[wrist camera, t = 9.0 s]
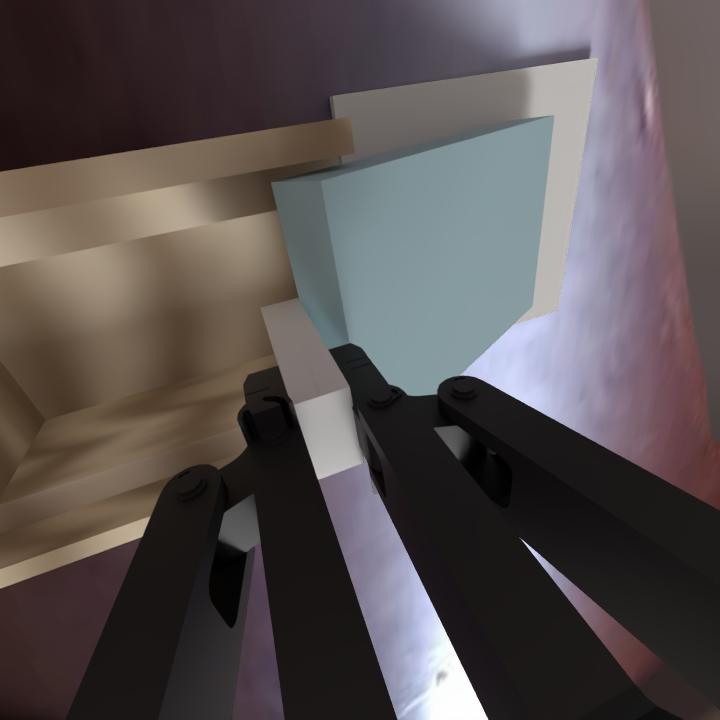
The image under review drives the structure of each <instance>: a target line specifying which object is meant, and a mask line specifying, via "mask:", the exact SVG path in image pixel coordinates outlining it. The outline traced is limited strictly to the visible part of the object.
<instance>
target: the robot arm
mask: <svg viewBox="0 0 720 720" xmlns="http://www.w3.org/2000/svg"><path fill="white" fill-rule="evenodd" d="M261 312H262V315H263V318H264V322H265V325H266V328H267V331H268V335H269V338H270V341H271V344H272V348H273V351H274V354H275V357H276V361H277V364H278V366H275V367H272V368H268V369H265V370H262V371H258V372H255V373H252V374H248V376H247V378H246V380H245V382H244V384H243V389H244V395H245V402H246V404H245V405H243V407H242V408H241V409H240V411H239V412H238V416H237V421H238V424H239V426H240V428H241V431H242V433H243V436H244V438H245V441H246V443H247V447H246V449H245V450H244V452H243V453H241V454H240V455H239V456H238V457H237V458H236V459H235V460H233V461H232V462H230V463H229V464H227V465H225V466H224V467H222V468H220V469H219V470H218V469H217V467H214V466H212V465H209V464H198V465H195V466H192V467H189V468H186V469H185V470H183V471H181V472H179V473H178V474H176V475H175V476H174V477H173V478H172V479H171V480H170V481H168V482H167V483H166V485H165V487H164V488H163V490H162V491H161V493H160V495H159V498H158V500H157V503H156V505H155V507H154V510H153V512H152V514H151V517H150V519H149V522H148V524H147V526H146V529H145V531H144V534H143V536H142V538H141V541H140V543H139V546H138V548H137V550H136V553H135V555H134V557H133V560H132V562H131V565H130V567H129V569H128V572H127V574H126V577H125V579H124V581H123V584H122V586H121V588H120V591H119V593H118V596H117V598H116V600H115V603H114V605H113V608H112V610H111V612H110V615H109V617H108V620H107V622H106V624H105V627H104V629H103V631H102V634H101V636H100V639H99V641H98V643H97V646H96V648H95V651H94V653H93V655H92V658H91V660H90V662H89V665H88V667H87V670H86V672H85V674H84V677H83V679H82V682H81V684H80V686H79V689H78V691H77V694H76V696H75V698H74V701H73V703H72V705H71V708H70V710H69V713H68V715H67V717H66V720H232V712H233V705H234V698H235V691H236V684H237V677H238V670H239V663H240V655H241V648H242V641H243V634H244V627H245V620H246V613H247V605H248V598H249V591H250V584H251V577H252V570H253V563H254V556H255V545H256V544H258V543H259V542H260V541H261V548H262V556H263V563H264V570H265V578H266V585H267V592H268V600H269V607H270V614H271V622H272V629H273V636H274V644H275V651H276V658H277V666H278V673H279V680H280V688H281V695H282V702H283V710H284V717H285V720H397V717H396V714H395V711H394V708H393V705H392V702H391V699H390V696H389V693H388V690H387V687H386V684H385V681H384V678H383V675H382V672H381V669H380V666H379V663H378V660H377V657H376V654H375V651H374V648H373V645H372V641H371V638H370V635H369V632H368V629H367V626H366V623H365V620H364V617H363V614H362V611H361V608H360V605H359V602H358V599H357V596H356V593H355V590H354V587H353V584H352V581H351V578H350V575H349V572H348V569H347V566H346V563H345V560H344V557H343V554H342V551H341V548H340V545H339V542H338V539H337V536H336V533H335V530H334V527H333V524H332V521H331V518H330V515H329V512H328V509H327V506H326V503H325V500H324V497H323V494H322V491H321V487H320V484H319V481H318V480H319V479H322V478H324V477H327V476H330V475H333V474H335V473H338V472H341V471H343V470H346V469H349V468H351V467H354V466H357V465H359V464H362V463H364V459H363V454H364V456H365V458H366V460H367V462H368V466H369V471H370V477H371V482H372V488H373V493H374V495H375V494H377V491H378V493H379V495H380V497H381V499H382V501H383V503H384V505H385V507H386V509H387V511H388V514H389V516H390V518H391V520H392V522H393V524H394V526H395V528H396V530H397V532H398V534H399V536H400V538H401V540H402V542H403V544H404V547H405V549H406V551H407V553H408V555H409V557H410V559H411V561H412V563H413V565H414V567H415V569H416V571H417V573H418V575H419V577H420V579H421V582H422V584H423V586H424V588H425V590H426V592H427V594H428V596H429V598H430V600H431V602H432V604H433V606H434V608H435V610H436V612H437V615H438V617H439V619H440V621H441V623H442V625H443V627H444V629H445V631H446V633H447V635H448V637H449V639H450V641H451V643H452V645H453V647H454V650H455V652H456V654H457V656H458V658H459V660H460V662H461V664H462V666H463V668H464V670H465V672H466V674H467V676H468V678H469V680H470V683H471V685H472V687H473V689H474V691H475V693H476V695H477V697H478V699H479V701H480V703H481V705H482V707H483V709H484V711H485V713H486V716H487V718H488V720H683V719H681V718H679V717H677V716H675V715H673V714H671V713H669V712H667V711H666V710H664V709H662V708H660V707H658V706H656V705H655V704H654V703H653V702H652V701H650V700H649V699H648V698H647V697H646V696H645V695H644V694H643V693H642V692H641V690H640V689H639V688H638V687H637V686H636V685H635V684H634V682H633V681H632V680H631V678H630V677H629V676H628V675H627V673H626V672H625V671H624V670H623V668H622V667H621V666H620V664H619V663H618V662H617V661H616V659H615V658H614V657H613V656H612V654H611V653H610V652H609V650H608V649H607V648H606V647H605V645H604V644H603V643H602V642H601V640H600V639H599V638H598V637H597V635H596V634H595V633H594V631H593V630H592V629H591V628H590V626H589V625H588V624H587V623H586V621H585V620H584V619H583V617H582V616H581V615H580V614H579V612H578V611H577V610H576V609H575V607H574V606H573V605H572V603H571V602H570V601H569V600H568V598H567V597H566V596H565V595H564V593H563V592H562V591H561V590H560V588H559V587H558V586H557V584H556V583H555V582H554V581H553V579H552V578H551V577H550V576H549V574H548V573H547V572H546V570H545V569H544V568H543V567H542V565H541V564H540V563H539V562H538V560H537V559H536V558H535V556H534V555H533V554H532V553H531V551H530V550H529V549H528V548H527V546H526V545H525V544H524V542H523V541H525V542H526V543H527V544H528V545H529V546H530V547H532V548H533V549H534V550H535V551H536V552H537V553H538V554H540V555H541V556H542V557H543V558H544V559H545V560H547V561H548V562H549V563H550V564H551V565H552V566H554V567H555V568H556V569H557V570H558V571H559V572H560V573H562V574H563V575H564V576H565V577H566V578H567V579H569V580H570V581H571V582H572V583H573V584H574V585H576V586H577V587H578V588H579V589H580V590H581V591H583V592H584V593H585V594H586V595H587V596H588V597H589V598H591V599H592V600H593V601H594V602H595V603H596V604H598V605H599V606H600V607H601V608H602V609H603V610H605V611H606V612H607V613H608V614H609V615H610V616H611V617H613V618H614V619H615V620H616V621H617V622H618V623H620V624H621V625H622V626H623V627H624V628H625V629H627V630H628V631H629V632H630V633H631V634H632V635H634V636H635V637H636V638H637V639H638V640H639V641H640V642H642V643H643V644H644V645H645V646H646V647H647V648H649V649H650V650H651V651H652V652H653V653H654V654H656V655H657V656H658V657H659V658H660V659H661V660H662V661H664V662H665V663H666V664H667V665H668V666H670V667H671V668H672V669H673V670H674V671H675V672H676V673H678V674H679V675H680V676H681V677H682V678H683V679H685V680H686V681H687V682H688V683H689V684H690V685H692V686H693V687H694V688H695V689H696V690H697V691H699V692H700V693H701V694H702V695H703V696H704V697H706V698H707V699H708V700H709V701H710V702H711V703H712V704H714V705H715V706H716V707H717V708H718V709H719V710H720V510H718V509H716V508H714V507H712V506H710V505H709V504H707V503H705V502H703V501H701V500H699V499H698V498H696V497H694V496H692V495H690V494H689V493H687V492H685V491H683V490H681V489H679V488H678V487H676V486H674V485H672V484H670V483H669V482H667V481H665V480H663V479H661V478H659V477H658V476H656V475H654V474H652V473H650V472H648V471H647V470H645V469H643V468H641V467H639V466H638V465H636V464H634V463H632V462H630V461H628V460H627V459H625V458H623V457H621V456H619V455H617V454H616V453H614V452H612V451H610V450H608V449H607V448H605V447H603V446H601V445H599V444H597V443H596V442H594V441H592V440H590V439H588V438H587V437H585V436H583V435H581V434H579V433H577V432H576V431H574V430H572V429H570V428H568V427H566V426H565V425H563V424H561V423H559V422H557V421H556V420H554V419H552V418H550V417H548V416H546V415H545V414H543V413H541V412H539V411H537V410H535V409H534V408H532V407H530V406H528V405H526V404H525V403H523V402H521V401H519V400H517V399H515V398H514V397H512V396H510V395H508V394H506V393H505V392H503V391H501V390H499V389H497V388H495V387H494V386H492V385H490V384H488V383H486V382H484V381H483V380H480V379H478V378H475V377H471V376H454V377H451V378H448V379H445V380H444V381H443V382H442V383H440V384H439V387H438V389H437V394H433V395H423V396H411V395H407V394H406V393H405V391H403V390H402V389H401V388H399V387H397V386H394V385H389V384H388V382H387V381H386V380H385V378H384V377H383V376H382V374H381V373H380V372H379V370H378V369H377V368H376V366H375V365H374V364H373V363H372V361H371V360H370V358H369V357H368V356H367V354H366V353H365V352H364V350H363V349H362V348H361V347H359V346H357V345H354V344H352V343H348V344H345V345H342V346H338V347H335V348H332V349H327V347H326V345H325V343H324V342H323V340H322V338H321V337H320V335H319V333H318V331H317V330H316V328H315V326H314V325H313V323H312V321H311V319H310V318H309V316H308V314H307V313H306V311H305V309H304V307H303V306H302V304H301V302H300V301H299V299H298V298H295V299H292V300H288V301H284V302H280V303H276V304H273V305H269V306H265V307H261ZM362 452H363V453H362ZM520 538H521V539H522V540H523V541H522V540H521V539H520Z"/></svg>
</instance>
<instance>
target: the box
mask: <svg viewBox="0 0 720 720" xmlns="http://www.w3.org/2000/svg"><path fill="white" fill-rule="evenodd" d="M349 154H355V149H354V141H353V133H352V125H351V117H344V118H337V119H331V120H325V121H319V122H312V123H306V124H300V125H293V126H287V127H281V128H274V129H268V130H262V131H255V132H249V133H243V134H236V135H230V136H224V137H217V138H211V139H205V140H198V141H192V142H186V143H179V144H173V145H167V146H161V147H154V148H148V149H142V150H135V151H129V152H123V153H116V154H110V155H104V156H97V157H91V158H85V159H78V160H72V161H66V162H59V163H53V164H47V165H40V166H34V167H28V168H21V169H15V170H9V171H2V172H0V588H3V587H6V586H8V585H11V584H14V583H17V582H19V581H22V580H25V579H28V578H30V577H33V576H36V575H39V574H41V573H44V572H47V571H50V570H52V569H55V568H58V567H61V566H63V565H66V564H69V563H72V562H74V561H77V560H80V559H83V558H85V557H88V556H91V555H94V554H96V553H99V552H102V551H105V550H107V549H110V548H113V547H116V546H118V545H121V544H124V543H127V542H129V541H132V540H135V539H138V538H140V537H142V536H143V534H144V531H145V529H146V526H147V524H148V522H149V519H150V517H151V514H152V512H153V510H154V507H155V505H156V503H157V500H158V498H159V495H160V493H161V491H162V490H163V488H164V487H165V485H166V483H167V482H168V481H170V480H171V479H172V478H173V477H174V476H175V475H176V474H178V473H179V472H181V471H183V470H185V469H186V468H189V467H192V466H195V465H198V464H209V465H212V466H214V467H217V469H218V470H219V469H220V468H222V467H224V466H225V465H227V464H229V463H230V462H232V461H233V460H235V459H236V458H237V457H238V456H239V455H240V454H241V453H243V452H244V450H245V449H246V447H247V443H246V441H245V438H244V436H243V433H242V431H241V428H240V426H239V424H238V421H237V416H238V412H239V411H240V409H241V408H242V407H243V405H245V404H246V402H245V395H244V389H243V384H244V382H245V380H246V378H247V376H248V374H252V373H255V372H258V371H262V370H265V369H268V368H272V367H275V366H278V364H277V361H276V357H275V354H274V351H273V348H272V344H271V341H270V338H269V335H268V331H267V328H266V325H265V322H264V318H263V315H262V312H261V307H265V306H269V305H273V304H276V303H280V302H284V301H288V300H292V299H295V298H298V299H299V297H298V293H297V288H296V284H295V280H294V276H293V272H292V268H291V264H290V260H289V255H288V251H287V247H286V243H285V239H284V235H283V231H282V227H281V222H280V218H279V214H278V210H277V206H276V202H275V198H274V194H273V189H272V185H271V182H273V181H277V180H281V179H285V178H288V177H292V176H296V175H300V174H304V173H308V172H312V171H316V170H320V169H323V168H327V167H331V166H335V165H339V160H338V156H344V155H349Z"/></svg>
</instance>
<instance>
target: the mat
mask: <svg viewBox="0 0 720 720" xmlns="http://www.w3.org/2000/svg"><path fill="white" fill-rule="evenodd" d="M597 62H598V58H591V59H584V60H577V61H570V62H563V63H556V64H549V65H542V66H535V67H529V68H522V69H515V70H508V71H501V72H494V73H487V74H480V75H473V76H466V77H459V78H452V79H445V80H438V81H432V82H425V83H418V84H411V85H404V86H397V87H390V88H383V89H376V90H369V91H362V92H355V93H348V94H342V95H335V96H331V97H329V99H330V106H331V113H332V119H337V118H344V117H351V125H352V133H353V141H354V149H355V154H349V155H344V156H338V160H339V164H343V163H347V162H351V161H354V160H358V159H362V158H366V157H370V156H374V155H378V154H382V153H385V152H389V151H393V150H397V149H401V148H405V147H409V146H413V145H416V144H420V143H424V142H428V141H432V140H436V139H440V138H444V137H447V136H451V135H455V134H459V133H463V132H467V131H471V130H475V129H478V128H482V127H486V126H490V125H494V124H498V123H502V122H506V121H510V120H517V119H525V118H534V117H542V116H551V115H554V124H553V133H552V141H551V150H550V159H549V167H548V176H547V185H546V193H545V202H544V211H543V219H542V228H541V237H540V245H539V254H538V263H537V272H536V280H535V289H534V298H533V306H532V307H531V308H530V309H529V310H528V311H527V312H526V313H525V314H524V315H523V316H522V317H521V318H520V319H519V320H518V321H517V322H516V323H514V324H517V323H520V322H523V321H527V320H530V319H533V318H536V317H539V316H543V315H546V314H549V313H552V312H555V311H558V308H559V302H560V296H561V289H562V283H563V277H564V270H565V264H566V258H567V251H568V245H569V239H570V232H571V226H572V220H573V213H574V207H575V201H576V195H577V188H578V182H579V176H580V169H581V163H582V157H583V150H584V144H585V138H586V131H587V125H588V119H589V112H590V106H591V100H592V93H593V87H594V81H595V75H596V68H597ZM514 324H513V325H514Z"/></svg>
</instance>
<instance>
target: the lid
mask: <svg viewBox="0 0 720 720" xmlns="http://www.w3.org/2000/svg"><path fill="white" fill-rule="evenodd" d="M553 124H554V115H551V116H542V117H534V118H525V119H517V120H510V121H506V122H502V123H498V124H494V125H490V126H486V127H482V128H478V129H475V130H471V131H467V132H463V133H459V134H455V135H451V136H447V137H444V138H440V139H436V140H432V141H428V142H424V143H420V144H416V145H413V146H409V147H405V148H401V149H397V150H393V151H389V152H385V153H382V154H378V155H374V156H370V157H366V158H362V159H358V160H354V161H351V162H347V163H343V164H339V165H335V166H331V167H327V168H323V169H320V170H316V171H312V172H308V173H304V174H300V175H296V176H292V177H288V178H285V179H281V180H277V181H273V182H271V185H272V189H273V194H274V198H275V202H276V206H277V210H278V214H279V218H280V222H281V227H282V231H283V235H284V239H285V243H286V247H287V251H288V255H289V260H290V264H291V268H292V272H293V276H294V280H295V284H296V288H297V293H298V297H299V301H300V302H301V304H302V306H303V307H304V309H305V311H306V313H307V314H308V316H309V318H310V319H311V321H312V323H313V325H314V326H315V328H316V330H317V331H318V333H319V335H320V337H321V338H322V340H323V342H324V343H325V345H326V347H327V349H332V348H335V347H338V346H342V345H345V344H348V343H352V344H354V345H357V346H359V347H361V348H362V349H363V350H364V352H365V353H366V354H367V356H368V357H369V358H370V360H371V361H372V363H373V364H374V365H375V366H376V368H377V369H378V370H379V372H380V373H381V374H382V376H383V377H384V378H385V380H386V381H387V382H388V384H389V385H394V386H397V387H399V388H401V389H402V390H403V391H405V393H406V394H407V395H411V396H423V395H433V394H437V389H438V387H439V384H440V383H442V382H443V381H444V380H445V379H448V378H451V377H454V376H460V375H461V374H462V373H463V372H464V371H465V370H466V369H467V368H468V367H469V366H470V365H471V364H472V363H473V362H474V361H475V360H476V359H477V358H479V357H480V356H481V355H482V354H483V353H484V352H485V351H486V350H487V349H488V348H489V347H490V346H491V345H492V344H493V343H494V342H495V341H497V340H498V339H499V338H500V337H501V336H502V335H503V334H504V333H505V332H506V331H507V330H508V329H509V328H510V327H511V326H512V325H513V324H514V323H516V322H517V321H518V320H519V319H520V318H521V317H522V316H523V315H524V314H525V313H526V312H527V311H528V310H529V309H530V308H531V307H532V306H533V298H534V289H535V280H536V272H537V263H538V254H539V245H540V237H541V228H542V219H543V211H544V202H545V193H546V185H547V176H548V167H549V159H550V150H551V141H552V133H553ZM362 453H363V452H362ZM363 456H364V454H363ZM364 457H365V456H364Z"/></svg>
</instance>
